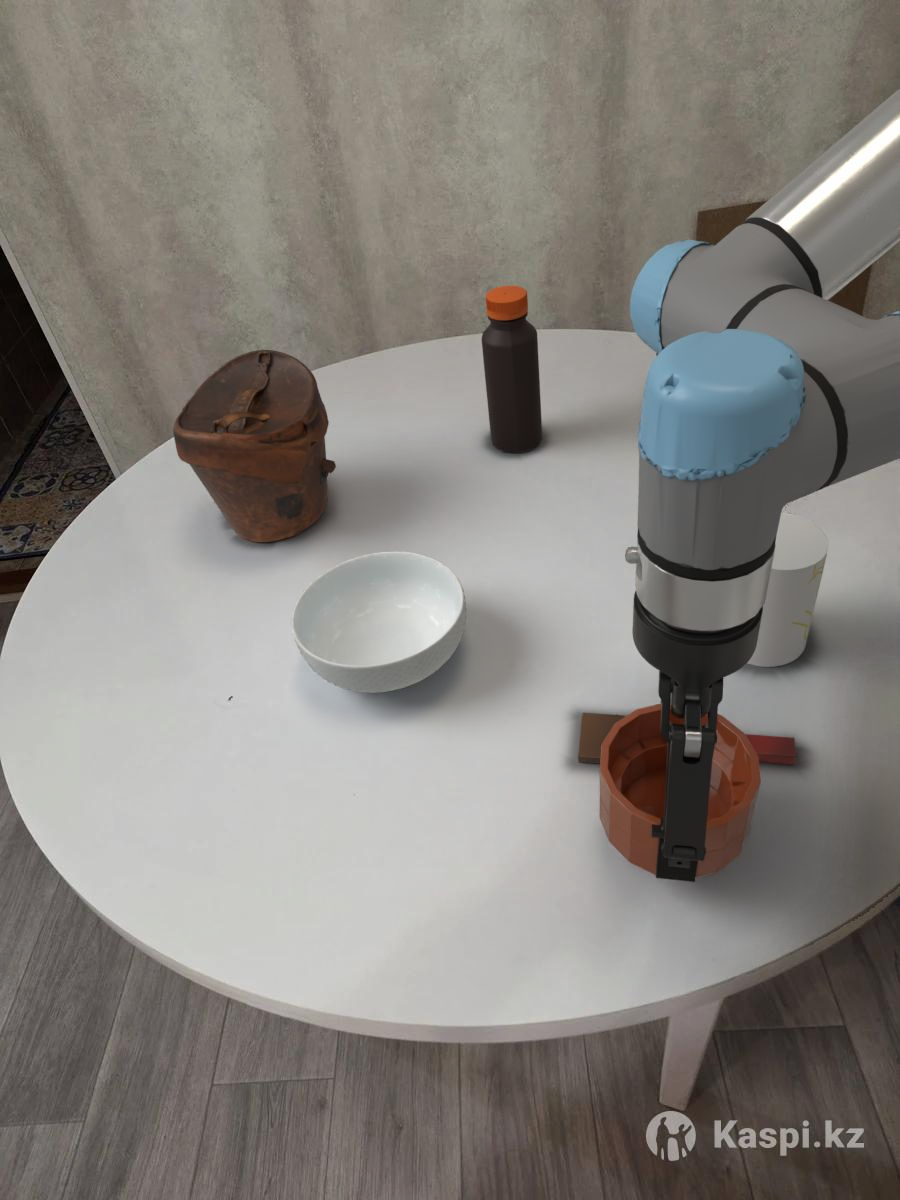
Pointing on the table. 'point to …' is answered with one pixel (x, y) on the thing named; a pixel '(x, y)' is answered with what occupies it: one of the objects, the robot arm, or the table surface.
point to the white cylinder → (791, 591)
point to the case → (259, 444)
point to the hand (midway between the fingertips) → (675, 805)
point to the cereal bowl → (380, 621)
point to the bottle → (511, 371)
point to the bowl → (640, 789)
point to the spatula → (601, 724)
